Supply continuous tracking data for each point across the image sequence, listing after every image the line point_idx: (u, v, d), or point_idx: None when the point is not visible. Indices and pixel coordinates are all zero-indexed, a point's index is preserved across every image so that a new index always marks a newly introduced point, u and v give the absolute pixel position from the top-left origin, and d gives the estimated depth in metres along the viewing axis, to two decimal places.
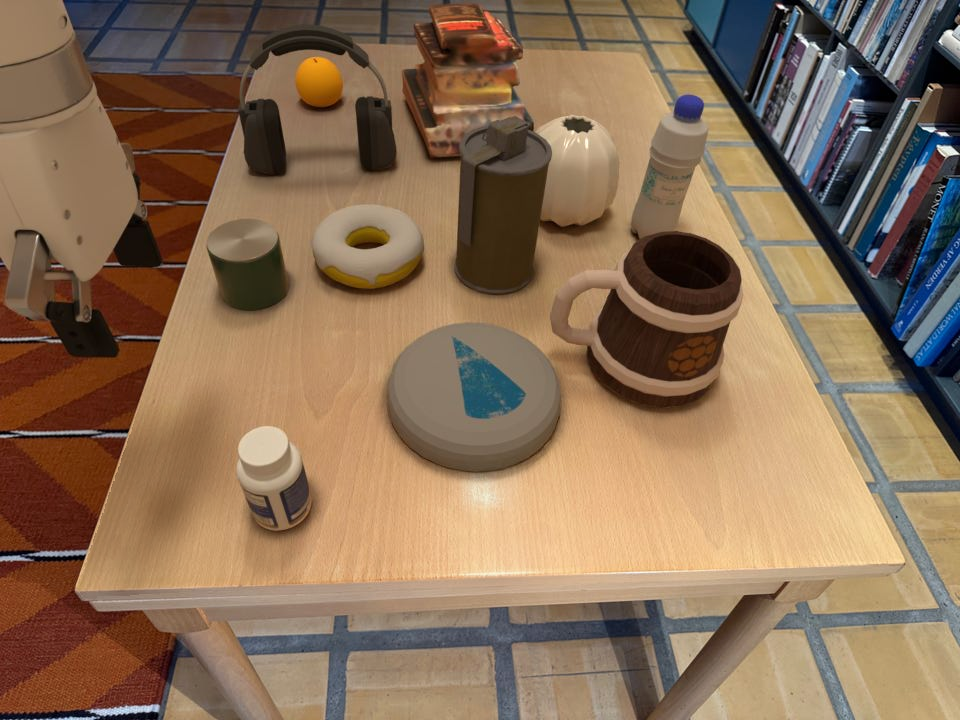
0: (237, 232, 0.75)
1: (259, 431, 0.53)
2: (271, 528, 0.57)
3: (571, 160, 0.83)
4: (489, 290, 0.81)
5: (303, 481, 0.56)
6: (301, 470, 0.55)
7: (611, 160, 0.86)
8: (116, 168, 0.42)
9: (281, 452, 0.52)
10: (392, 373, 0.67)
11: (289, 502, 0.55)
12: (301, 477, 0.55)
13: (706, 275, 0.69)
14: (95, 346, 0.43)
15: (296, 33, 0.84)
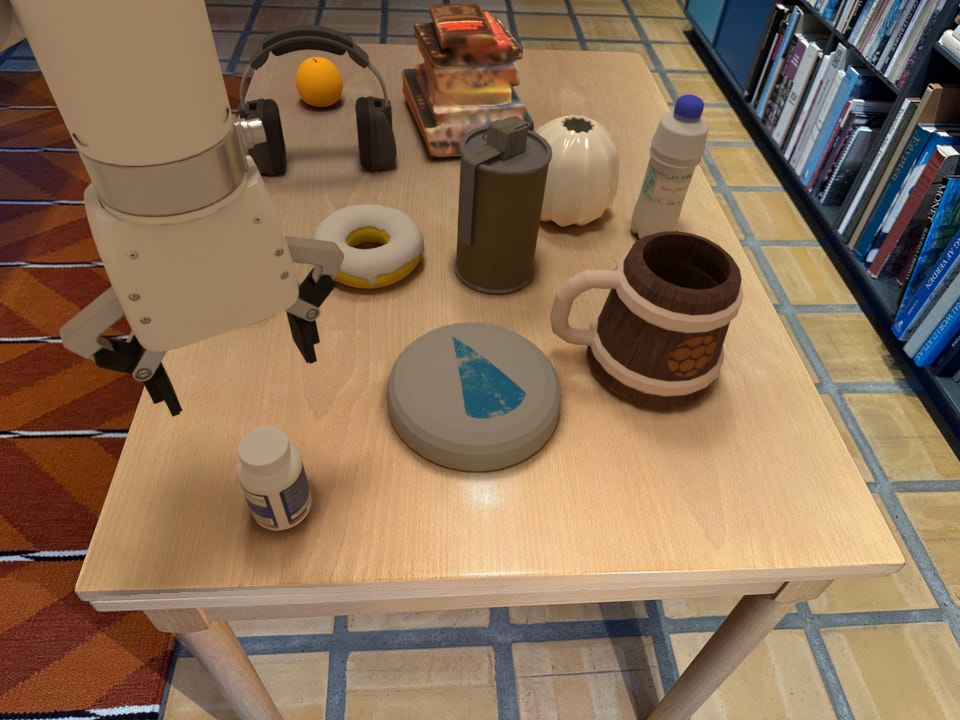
0: None
1: (259, 431, 0.53)
2: (271, 528, 0.57)
3: (571, 160, 0.83)
4: (489, 290, 0.81)
5: (303, 481, 0.56)
6: (301, 470, 0.55)
7: (611, 160, 0.86)
8: (254, 275, 0.39)
9: (281, 452, 0.52)
10: (392, 373, 0.67)
11: (289, 502, 0.55)
12: (301, 477, 0.55)
13: (706, 275, 0.69)
14: (156, 398, 0.43)
15: (296, 33, 0.84)
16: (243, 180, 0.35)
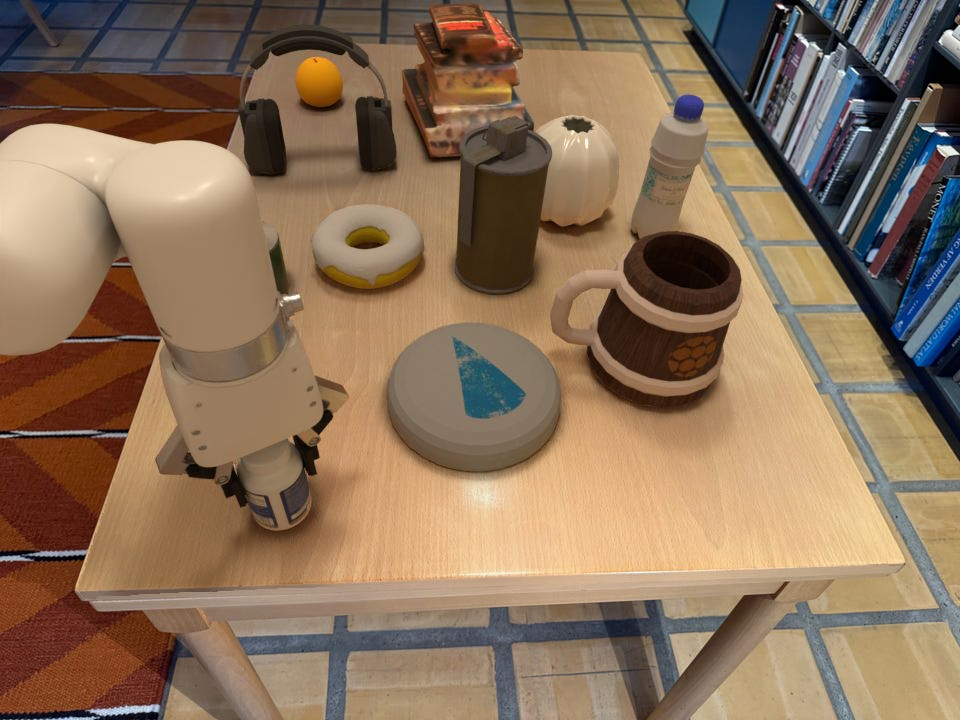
0: None
1: None
2: (271, 528, 0.57)
3: (571, 160, 0.83)
4: (489, 290, 0.81)
5: (303, 481, 0.56)
6: (302, 470, 0.55)
7: (611, 160, 0.86)
8: (289, 407, 0.48)
9: (281, 452, 0.52)
10: (392, 373, 0.67)
11: (290, 502, 0.55)
12: (301, 477, 0.55)
13: (706, 275, 0.69)
14: (228, 494, 0.53)
15: (296, 33, 0.84)
16: (285, 343, 0.44)
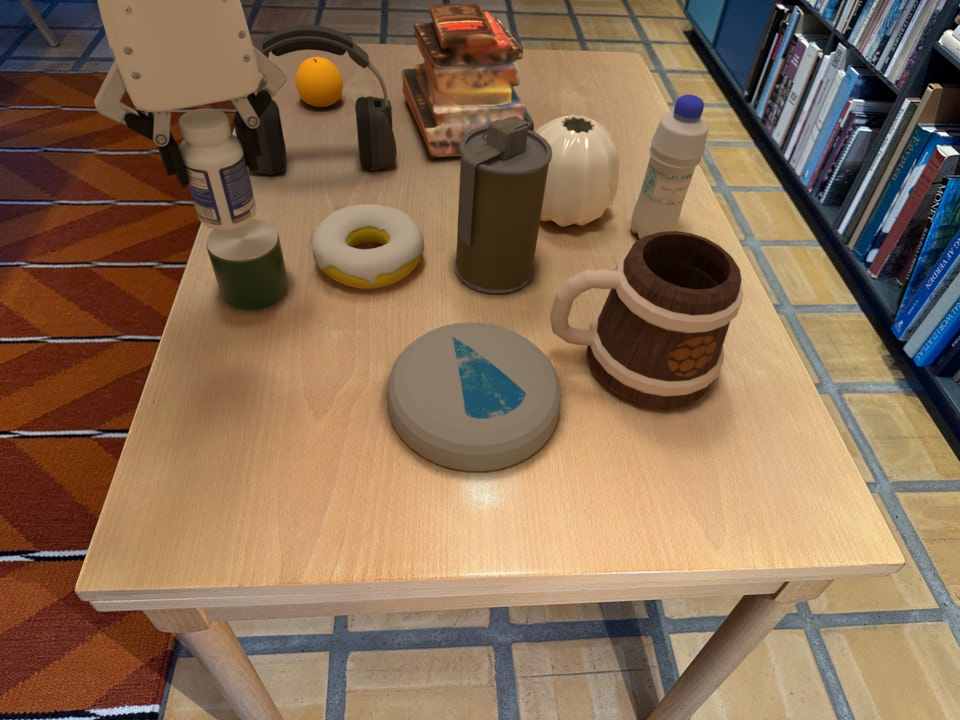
0: (237, 232, 0.75)
1: (201, 110, 0.56)
2: (215, 226, 0.60)
3: (571, 160, 0.83)
4: (489, 290, 0.81)
5: (245, 173, 0.58)
6: (242, 158, 0.57)
7: (611, 160, 0.86)
8: (222, 51, 0.50)
9: (219, 124, 0.54)
10: (392, 373, 0.67)
11: (230, 189, 0.57)
12: (242, 165, 0.57)
13: (706, 275, 0.69)
14: (169, 169, 0.55)
15: (296, 33, 0.84)
16: None
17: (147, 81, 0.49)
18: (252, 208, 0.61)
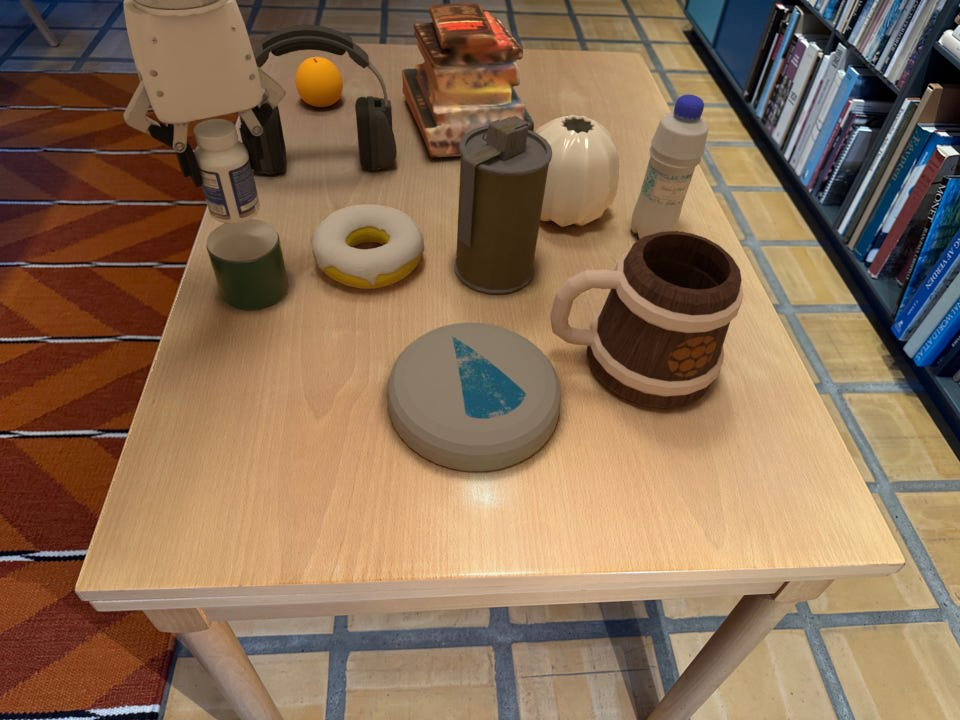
0: (237, 232, 0.75)
1: (212, 121, 0.65)
2: (225, 220, 0.69)
3: (571, 160, 0.83)
4: (489, 290, 0.81)
5: (250, 174, 0.67)
6: (248, 161, 0.66)
7: (611, 160, 0.86)
8: (231, 71, 0.59)
9: (229, 132, 0.64)
10: (392, 373, 0.67)
11: (238, 188, 0.67)
12: (248, 167, 0.67)
13: (706, 275, 0.69)
14: (186, 171, 0.64)
15: (296, 33, 0.84)
16: None
17: (169, 98, 0.58)
18: (256, 204, 0.70)
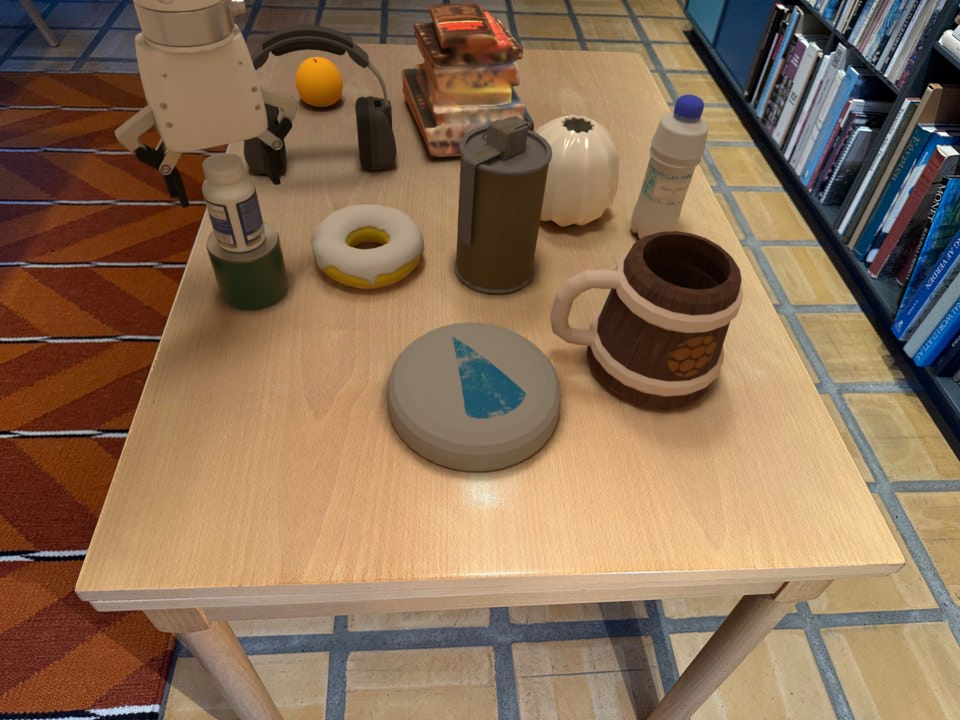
0: None
1: (219, 155, 0.67)
2: (232, 249, 0.72)
3: (571, 160, 0.83)
4: (489, 290, 0.81)
5: (256, 205, 0.70)
6: (254, 193, 0.69)
7: (611, 160, 0.86)
8: (238, 103, 0.61)
9: (236, 166, 0.66)
10: (392, 373, 0.67)
11: (245, 219, 0.69)
12: (254, 199, 0.69)
13: (706, 275, 0.69)
14: (172, 193, 0.65)
15: (296, 33, 0.84)
16: (231, 33, 0.57)
17: (178, 129, 0.60)
18: (262, 233, 0.73)
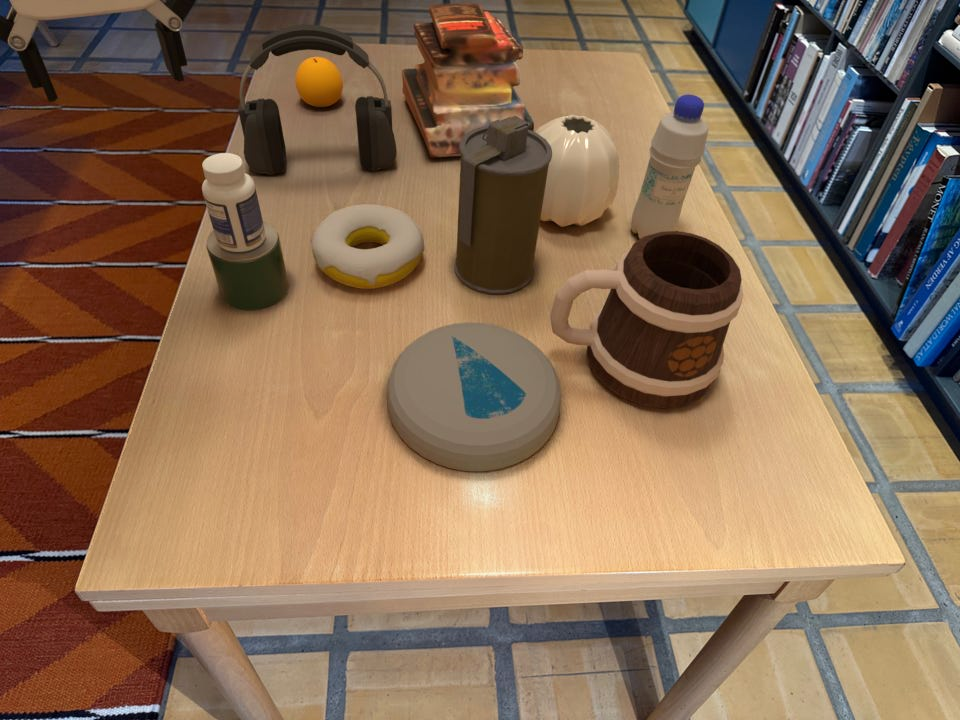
0: None
1: (219, 155, 0.67)
2: (232, 249, 0.72)
3: (571, 160, 0.83)
4: (489, 290, 0.81)
5: (256, 205, 0.70)
6: (254, 193, 0.69)
7: (611, 160, 0.86)
8: None
9: (236, 166, 0.66)
10: (392, 373, 0.67)
11: (245, 219, 0.69)
12: (254, 199, 0.69)
13: (706, 275, 0.69)
14: (33, 80, 0.50)
15: (296, 33, 0.84)
16: None
17: None
18: (262, 233, 0.73)
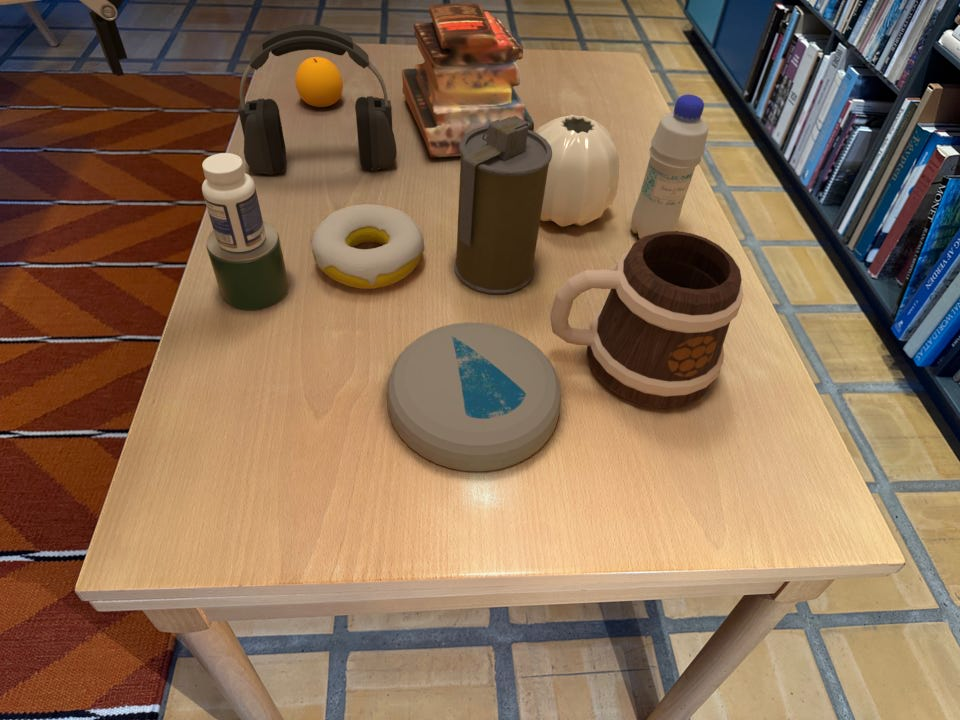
0: None
1: (219, 155, 0.67)
2: (232, 249, 0.72)
3: (571, 160, 0.83)
4: (489, 290, 0.81)
5: (256, 205, 0.70)
6: (254, 193, 0.69)
7: (611, 160, 0.86)
8: None
9: (236, 166, 0.66)
10: (392, 373, 0.67)
11: (245, 219, 0.69)
12: (254, 199, 0.69)
13: (706, 275, 0.69)
14: None
15: (296, 33, 0.84)
16: None
17: None
18: (262, 233, 0.73)
